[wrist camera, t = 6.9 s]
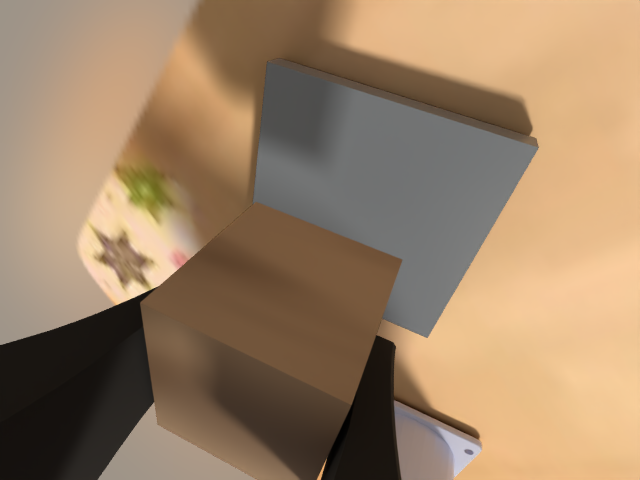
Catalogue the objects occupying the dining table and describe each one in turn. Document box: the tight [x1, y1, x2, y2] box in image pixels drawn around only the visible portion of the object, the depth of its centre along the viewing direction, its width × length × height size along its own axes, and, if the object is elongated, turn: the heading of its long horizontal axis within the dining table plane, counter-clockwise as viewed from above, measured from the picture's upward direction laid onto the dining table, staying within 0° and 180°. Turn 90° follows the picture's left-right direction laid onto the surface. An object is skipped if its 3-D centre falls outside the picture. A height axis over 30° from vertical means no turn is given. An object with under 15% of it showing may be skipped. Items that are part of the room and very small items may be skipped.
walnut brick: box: [140, 202, 402, 480], centre depth 10 cm, size 5×4×5 cm
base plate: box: [253, 58, 539, 338], centre depth 17 cm, size 10×10×1 cm
